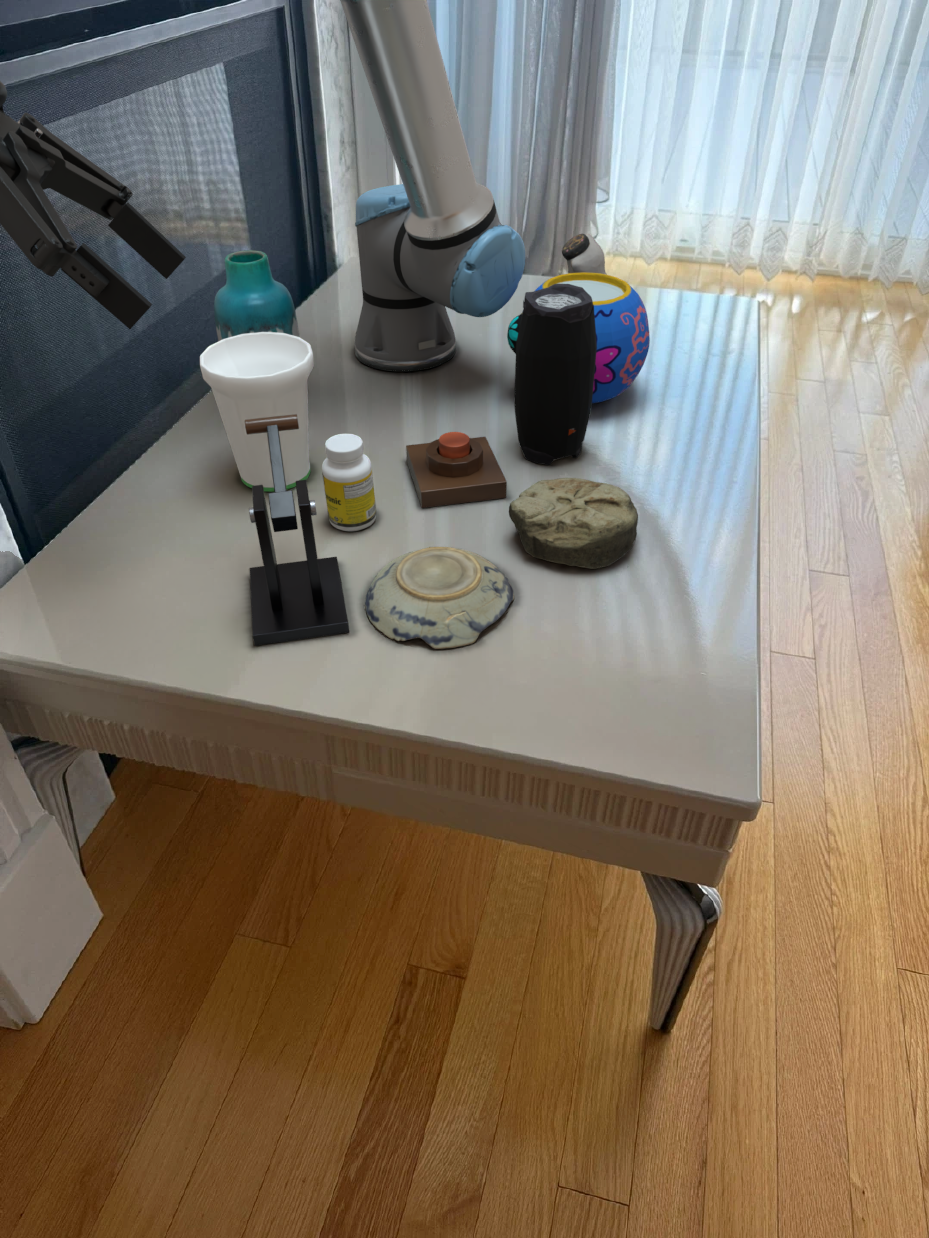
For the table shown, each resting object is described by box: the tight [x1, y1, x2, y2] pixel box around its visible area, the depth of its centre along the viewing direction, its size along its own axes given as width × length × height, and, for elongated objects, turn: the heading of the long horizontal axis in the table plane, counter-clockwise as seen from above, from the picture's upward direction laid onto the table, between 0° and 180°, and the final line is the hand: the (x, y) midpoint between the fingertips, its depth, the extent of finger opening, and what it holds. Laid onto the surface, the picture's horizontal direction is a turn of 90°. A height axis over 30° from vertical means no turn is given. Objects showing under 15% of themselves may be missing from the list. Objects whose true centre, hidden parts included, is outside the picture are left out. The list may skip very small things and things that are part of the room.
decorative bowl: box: [364, 546, 515, 650], centre depth 89 cm, size 15×4×15 cm
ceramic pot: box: [506, 272, 651, 405], centre depth 120 cm, size 18×18×15 cm
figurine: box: [561, 233, 608, 275], centre depth 135 cm, size 9×10×15 cm
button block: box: [405, 436, 507, 509], centre depth 107 cm, size 11×10×4 cm
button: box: [438, 431, 471, 459], centre depth 105 cm, size 4×4×2 cm
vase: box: [213, 249, 300, 342], centre depth 119 cm, size 11×11×19 cm
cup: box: [199, 332, 315, 493], centre depth 104 cm, size 12×12×15 cm
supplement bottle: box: [321, 433, 377, 532], centre depth 98 cm, size 5×5×10 cm
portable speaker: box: [513, 284, 597, 466], centre depth 107 cm, size 9×9×20 cm
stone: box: [508, 477, 639, 570], centre depth 97 cm, size 13×13×5 cm
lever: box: [245, 414, 299, 533], centre depth 85 cm, size 12×5×2 cm, turn 12°
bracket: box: [248, 480, 350, 647], centre depth 86 cm, size 11×9×13 cm
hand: (160, 291), depth 79 cm, fingers open, 13 cm apart
